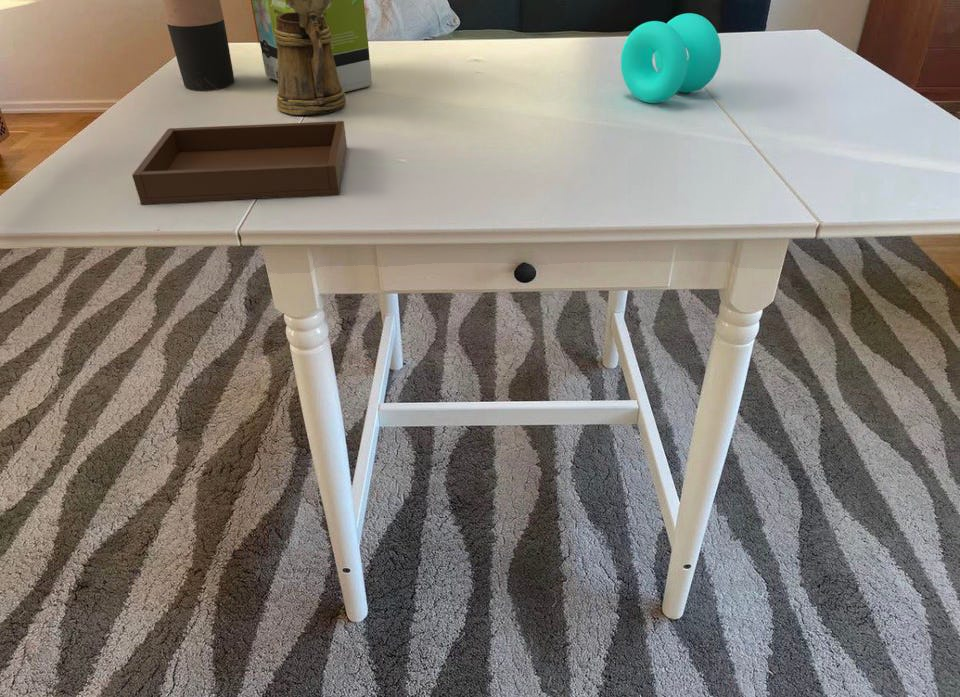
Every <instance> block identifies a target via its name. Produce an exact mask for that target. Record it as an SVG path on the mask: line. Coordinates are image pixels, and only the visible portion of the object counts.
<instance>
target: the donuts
mask: <svg viewBox="0 0 960 697" xmlns="http://www.w3.org/2000/svg"><path fill="white" fill-rule="evenodd" d="M653 58H654V63H655V66H654V63H653ZM721 60H722V44H721V40H720V36H719V33H718V32H717V30H716V28H715V26H714V25H713V24H712V23H711V22H710V20H708V19H707V18H706V17H704V16H702V15H700V14H697V13H692V12H687V13H681V14H678V15H676V16H674V17H673V18H671V19H670V20H668V21H667V22H666V23H665V22H664V21H658V20H651V21H646V22H643V23H641V24H640V25H638V26H636V27H635V28H634V29H633V30H632V31H631V32H630V33H629V35H628V36H627V38H626V39H625V41H624V44H623V46H622V50H621V55H620V71H621V76H622V78H623V81H624V83H625V86H626V87H627V89H628V90H629V92H630V93H631V95H633V96H634V97H635V98H637V99H638V100H640V101H642V102H644V103H649V104H659V103H663V102H666V101H668V100H670V99H671V98H672V97H673V96H675V94H677V93H678V92H679V93H685V94H687V93H688V94H689V93H693V92H697V91H699V90H701V89H703V88H705V87H706V86H707V85H708V84H709V83H711V81H712V80H713V78H714V77H715V76H716V74H717V71H718V69H719V67H720V63H721ZM655 68H656V69H655Z"/></svg>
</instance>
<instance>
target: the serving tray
mask: <svg viewBox="0 0 960 697" xmlns="http://www.w3.org/2000/svg"><path fill="white" fill-rule="evenodd" d="M347 144H348V143H347V137H346V127H345V121H344V120H339V121H338V120H336V121H315V122H314V121H313V122H291V123H290V122H287V123H266V124H244V125H243V124H242V125H241V124H240V125H220V126H218V125H217V126H216V125H215V126H194V127H192V126H191V127H173V128H172V127H171V128H170V127H169V128H167V129H166V131H165V132H164V133H163V135H162V136H161V137H160V138H159V140H158V141H157V142H156V143H155V145H154V146H153V148H152V149H151V150H150V151H149V153H148V154H147V155H146V156H145V157H144V159H143V160H142V161H141V163H140V164H139V166H138V167H137V168H136V169H135V171H134V172H132V174H131V176H132V179H133V182H134V186H135V189H136V193H137V196H138V199H139V202H140V205H152V204H155V205H156V204H173V203H194V202H195V203H196V202H214V201H234V200H235V201H236V200H238V201H239V200H252V199H253V200H254V199H277V198H278V199H279V198H298V197H317V196H319V197H321V196H338V195H340V191H341V185H342V179H343V173H344V167H345V161H346V155H347V150H348V145H347Z"/></svg>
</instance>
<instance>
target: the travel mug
mask: <svg viewBox="0 0 960 697" xmlns="http://www.w3.org/2000/svg"><path fill="white" fill-rule="evenodd" d="M160 1H161V5H162V9H163V13H164V17H165V21H166V24H167V29H168V33H169V36H170V40H171V44H172V47H173V50H174V54H175V58H176V61H177V66H178V68H179V72H180V76H181V80H182V83H183V85H184V88H186V89H188V90H191V91H202V92H203V91H214V90H219V89H224V88H227V87H230V86H232V85H233V84H234V83H235V75H234V69H233V63H232V58H231V51H230V46H229V40H228V36H227V35H228V34H227V28H226V22H225V19H224V18H225V17H224V13H223V9H222V8H223V7H222V3H221V0H160Z"/></svg>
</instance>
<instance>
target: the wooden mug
mask: <svg viewBox="0 0 960 697" xmlns="http://www.w3.org/2000/svg"><path fill="white" fill-rule="evenodd" d="M331 1H332V0H286V3H287V5H289V6H290V7H291V8H292V9H293V10H295V11H296V12H288V13H282V14H279V15H278V16H276V28H275V41H276V42H277V51H278V81H277V82H278V83H277V85H278V86H277V88H278V93H277V95H276V107H277V110H278V111H279V112H282V113H284V114H287V115H292V116H317V115H321V114H329V113H332V112H335V111H338V110H340V109H342V108H344V107H345V106H346V103H347V98H346V93H345V92H344V90H343V88H341V86H340V82H339V78H338V74H337V70H336V66H335V62H334V58H333V54H332V49H331V44H330V42H331V41H332V36H331V33H330V30H329V27H328V26H327V25H326V22H325V19H324V15H323V14H322V12H323V11H324V10H325V9H326V8H327V6H328V5H329V4H330V2H331ZM298 13H299V14H298Z"/></svg>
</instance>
